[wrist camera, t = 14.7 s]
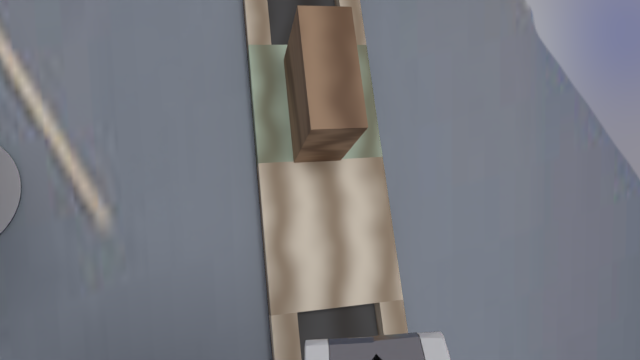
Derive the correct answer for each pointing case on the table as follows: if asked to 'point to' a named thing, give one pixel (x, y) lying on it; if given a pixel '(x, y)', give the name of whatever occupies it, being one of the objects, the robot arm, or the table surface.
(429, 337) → the robot arm
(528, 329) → the table surface
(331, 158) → the walnut block
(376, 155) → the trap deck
